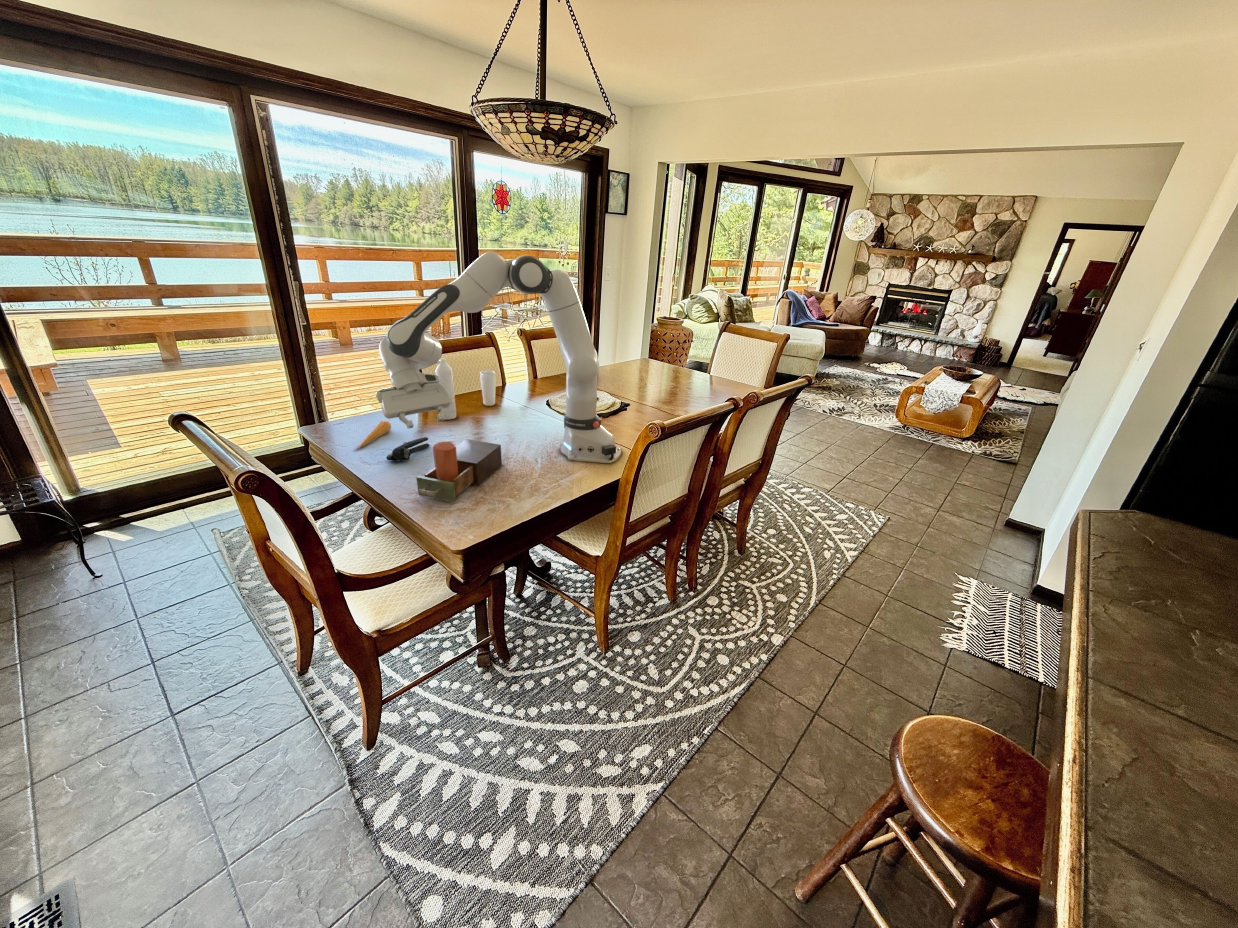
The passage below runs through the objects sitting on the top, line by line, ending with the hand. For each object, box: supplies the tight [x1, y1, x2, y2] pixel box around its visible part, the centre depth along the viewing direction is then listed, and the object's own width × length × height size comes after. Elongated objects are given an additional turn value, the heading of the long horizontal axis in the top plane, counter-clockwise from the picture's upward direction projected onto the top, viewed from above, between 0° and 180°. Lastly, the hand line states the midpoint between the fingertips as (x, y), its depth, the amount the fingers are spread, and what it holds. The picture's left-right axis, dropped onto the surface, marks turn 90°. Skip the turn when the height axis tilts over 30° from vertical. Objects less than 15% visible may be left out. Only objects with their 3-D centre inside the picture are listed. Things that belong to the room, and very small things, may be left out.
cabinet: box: [456, 438, 503, 487], centre depth 157 cm, size 16×13×8 cm
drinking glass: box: [479, 369, 497, 407], centre depth 216 cm, size 7×7×15 cm
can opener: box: [385, 436, 430, 462], centre depth 166 cm, size 18×7×6 cm, turn 160°
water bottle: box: [434, 357, 457, 421], centre depth 195 cm, size 9×6×25 cm
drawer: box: [415, 463, 475, 503], centre depth 143 cm, size 19×12×6 cm, turn 165°
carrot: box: [357, 420, 392, 450], centre depth 176 cm, size 20×4×4 cm, turn 174°
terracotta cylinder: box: [432, 441, 459, 482], centre depth 143 cm, size 6×6×13 cm
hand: (426, 424), depth 146 cm, fingers open, 8 cm apart
